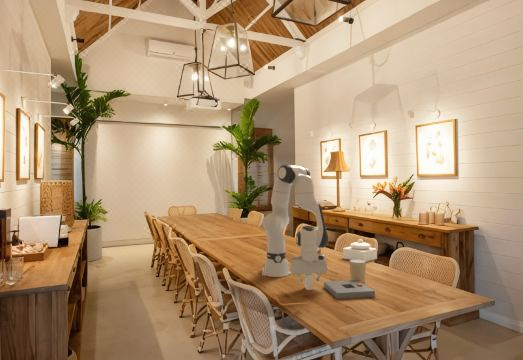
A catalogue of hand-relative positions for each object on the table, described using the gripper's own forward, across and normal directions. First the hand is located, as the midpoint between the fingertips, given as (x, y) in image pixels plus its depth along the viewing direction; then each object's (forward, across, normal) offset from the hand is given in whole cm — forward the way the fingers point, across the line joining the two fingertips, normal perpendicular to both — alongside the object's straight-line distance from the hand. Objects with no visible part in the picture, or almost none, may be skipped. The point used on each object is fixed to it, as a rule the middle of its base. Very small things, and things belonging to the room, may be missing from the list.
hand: (308, 281), depth 191 cm
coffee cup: (+4, +32, +8) cm, 33 cm away
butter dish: (+4, +57, +60) cm, 83 cm away
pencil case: (+4, +32, +86) cm, 92 cm away
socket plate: (+4, +19, -9) cm, 21 cm away
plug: (+4, 0, 0) cm, 4 cm away
